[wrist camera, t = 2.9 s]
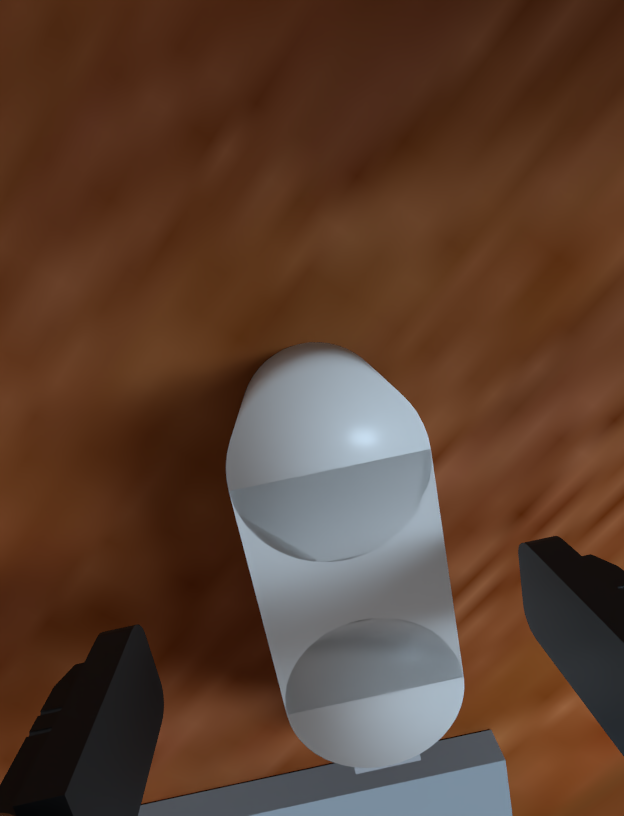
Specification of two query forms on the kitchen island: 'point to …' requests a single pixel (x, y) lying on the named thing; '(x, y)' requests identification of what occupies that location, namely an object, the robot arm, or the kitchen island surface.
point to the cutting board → (369, 788)
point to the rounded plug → (346, 556)
